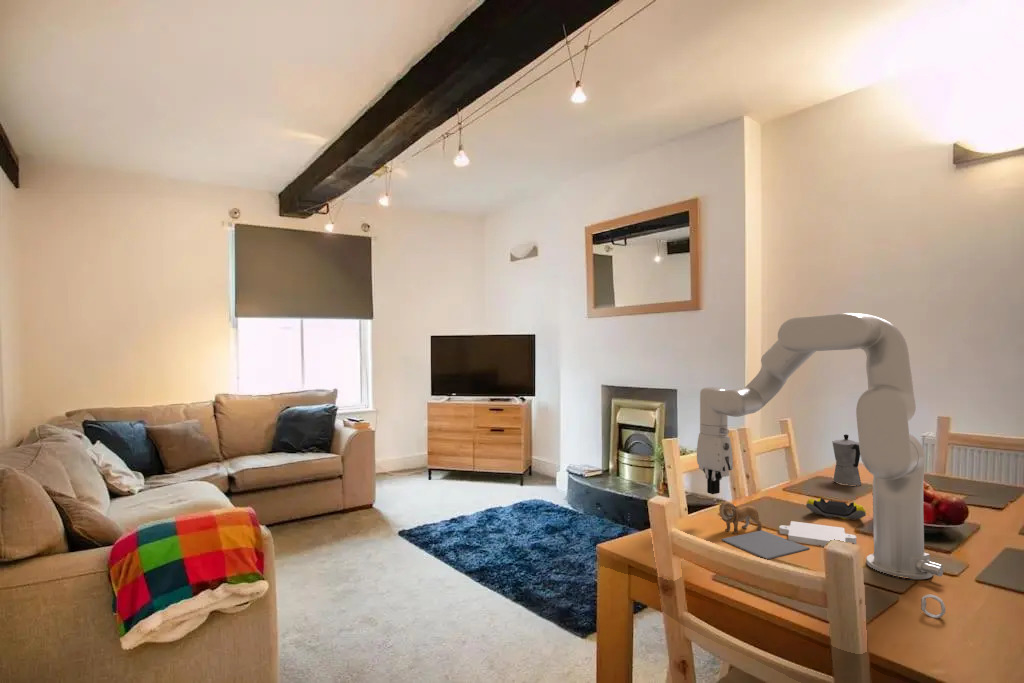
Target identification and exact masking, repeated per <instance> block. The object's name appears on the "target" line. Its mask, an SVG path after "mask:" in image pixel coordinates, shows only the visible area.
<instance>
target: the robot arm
mask: <svg viewBox="0 0 1024 683" xmlns="http://www.w3.org/2000/svg"><path fill="white" fill-rule="evenodd" d="M777 331H778V332H777V341H775V342H774V344H773V345H772V346H770V347H769V349H767V351H766V352H764V354H763V355H762V356H761V357H760V358H761V359H760V363H761V368H760V370H759V371H758V373H757V374H756V376H754V378H753V379H752V380H750V382H749V383H748V384H747V385H745V387H742V388H736V389H728V390H726V389H725V388H721V387H710V386H708V387H703V388H702V389H700V391H699V392H700V393H699V433H698V437H697V445H696V463H697V465H698V469H699V470H700V471H703V473H704V474H705V475H704V477H705V479H706V480H707V481H706V482H707V483H706V484H707V488H706V489H707V490H706V492H707V494H710V495H716V494H719V493H721V491H720V489H721V488H720V486H721V482H720V481H721V480H722V478H724V477H725V478H727V477H730V471H732V470H733V469H734V458H733V448H732V442H731V438H730V436H729V435H728V434H729V433H730V429H728V416H729V417H734V418H736V417H743V416H747V415H752V414H755V413H757V412H759V411H760V410H762V409H763V408H764V407H765V406H767V404H768V403H770V401H771V400H772V399H773V398H774V397H775V396H777V394H778V393H779V392H780V391H781V389H782V388H783V387H784V385H785V384H786V383H787V381H788V379H789V378H790V377H791V376H792V375H793V374H794V373H795V372H796V371H797V370H798V369H799V368H800V367H801V366H802V365H803V364H804V363H805V362H807V360H809V359H810V358H811V357H812V356H813V355H814V354H815V353H816V352H823V351H825V352H826V351H842V350H843V351H845V350H846V351H847V350H848V351H849V350H851V351H852V350H862V351H864V354H865V356H866V362H865V364H866V366H865V370H866V376H867V389H866V390H865V391H864V392H863V393H862V394H861V395H860V396H859V398H858V400H857V403H856V411H855V413H856V414H855V416H856V425H857V426H856V427H857V437H858V438H857V439H858V442H859V448H860V458H861V459H860V460H861V463H862V464H863V466H864V467H865V469H866V470H867V471H868V473H870V474H871V475H873V477H872V521H873V523H872V524H873V528H872V529H873V553H872V554H868V555H867V556H866V557H865V563H866V565H867V566H868V567H870V568H871V569H872V568H873V569H872V570H874V569H875V570H874V571H876V570H877V571H876V572H878V571H880V572H879V573H881V572H883V573H882V574H884V573H887V574H891V575H896V576H903V577H908V578H913V579H912V580H927V579H930V578H932V577H934V576H937V577H942V576H943V575H944V566H943V564H940V563H937V562H933V561H932V560H931V558H930V557H931V556H930V553H927V552H925V529H924V528H925V525H924V522H925V521H924V478H925V463H926V462H925V461H926V458H925V457H926V456H925V450H924V448H923V445H922V443H921V442H920V441H919V440H918V438H916V436H914V435H913V434H911V433H910V430H909V421H910V420H911V419H912V418H913V417H914V415H915V413H916V411H917V410H916V408H917V407H916V400H915V399H916V398H915V394H914V385H913V377H912V371H911V363H910V355H909V348H908V345H907V342H906V339H905V337H904V335H903V334H902V332H901V330H899V329H898V327H896V326H895V325H894V324H893V323H892V322H889V321H888V320H886V319H883V318H881V317H878V316H876V315H872V314H867V313H860V312H859V313H854V312H845V313H844V312H843V313H835V314H832V313H831V314H825V315H824V314H823V315H815V316H806V317H805V316H804V317H803V316H802V317H793V318H789V319H787V320H786V321H784V322H783V323H782V324H781V325H780V326H779V329H778V330H777ZM887 574H886V575H887Z"/></svg>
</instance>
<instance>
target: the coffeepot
mask: <svg viewBox="0 0 1024 683" xmlns="http://www.w3.org/2000/svg"><path fill="white" fill-rule="evenodd" d="M849 436H850V435H849V434H846V433H845V434H843V438H844V439H843V438H842V439H835V440H832V442H831V443H832V447H833V452H834V458H835V468H834V474H833V479H832V480H834V482H838V483H842V484H848V485H861V486H862V480H861V477H860V476H861V475H860V470H859V462H860V460H861V459H860V458H861V455H860V448H859V441H855V440H851V439H849ZM834 482H833V483H834Z"/></svg>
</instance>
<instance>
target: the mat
mask: <svg viewBox="0 0 1024 683" xmlns="http://www.w3.org/2000/svg"><path fill="white" fill-rule="evenodd" d="M720 539H721V540H722V541H721V540H720V541H721V542H724V541H725V542H724V543H726V544H728V543H729V544H728V545H731V546H733V545H734V547H736V548H738V547H739V548H738V549H739V550H740V549H741V550H743V551H745V552H748V553H750V554H753V555H754V556H757V557H758V558H761V557H763V558H762V559H764V558H767V559H768V560H771V559H775V558H780V557H783V556H788V555H792V554H797V553H799V552H800V553H801V552H804V551H808V550H810V547H809V546H806V545H803V544H802V543H799V542H793V541H790V540H788V538H787V539H786V538H785V537H782V536H779V535H776V534H773V533H770V532H769V531H765V530H762V529H761V530H757V531H756V530H755V531H752V532H747V533H743V534H736V535H734V536H728V537H724V538H720Z"/></svg>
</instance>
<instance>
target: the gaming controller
mask: <svg viewBox="0 0 1024 683" xmlns="http://www.w3.org/2000/svg"><path fill="white" fill-rule="evenodd" d="M805 507H806V508H807V509H808V510H810V512H812V513H813V514H816V515H819V516H820V515H821V516H823V517H824V518H827V519H828V518H831V519H832V518H834V517H835V518H836V517H837V518H839V519H841V520H860V519H862V518H864V517H865V516H866V515H867V514H866V513H867V512H866V509H865V508H864V506H863V505H861V504H857V503H856V502H850V503H849V505H848V503H846V502H843V501H836V500H828V501H826V500H825V499H824V498H822V497H819V498H818V499H817V500H816V499H814V498H809V499H807V502H806V504H805Z"/></svg>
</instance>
